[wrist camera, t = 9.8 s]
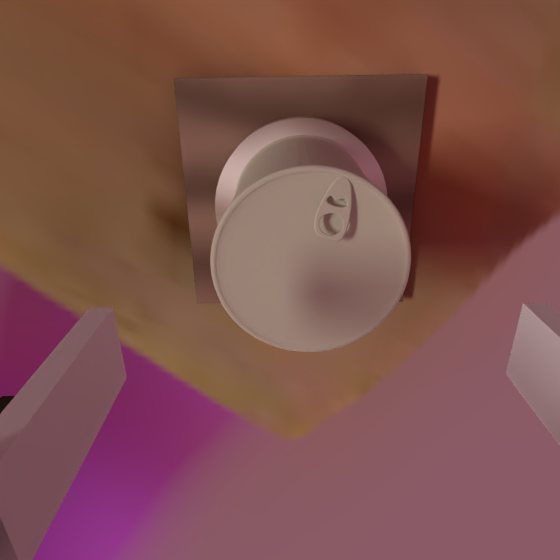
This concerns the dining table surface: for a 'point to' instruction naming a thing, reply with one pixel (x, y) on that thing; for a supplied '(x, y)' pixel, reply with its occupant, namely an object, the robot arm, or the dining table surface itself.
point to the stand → (289, 122)
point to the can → (309, 248)
